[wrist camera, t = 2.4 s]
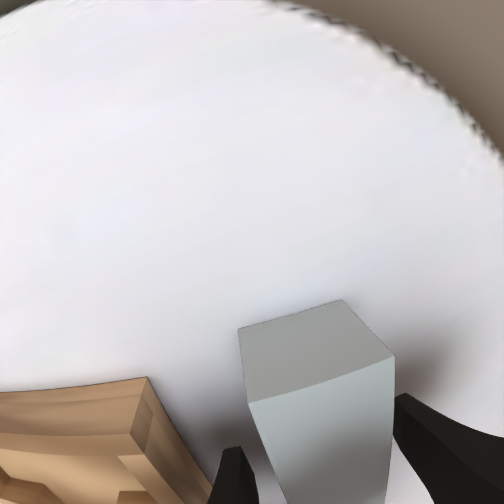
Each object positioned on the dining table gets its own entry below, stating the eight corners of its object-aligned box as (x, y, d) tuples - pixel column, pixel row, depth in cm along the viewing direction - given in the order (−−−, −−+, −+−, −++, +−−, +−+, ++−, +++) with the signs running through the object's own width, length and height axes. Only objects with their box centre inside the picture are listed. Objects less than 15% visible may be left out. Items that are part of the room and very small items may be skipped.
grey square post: (339, 297, 10) (394, 355, 7) (356, 461, 13) (381, 516, 9) (237, 326, 10) (247, 403, 6) (289, 482, 13) (305, 542, 9)
